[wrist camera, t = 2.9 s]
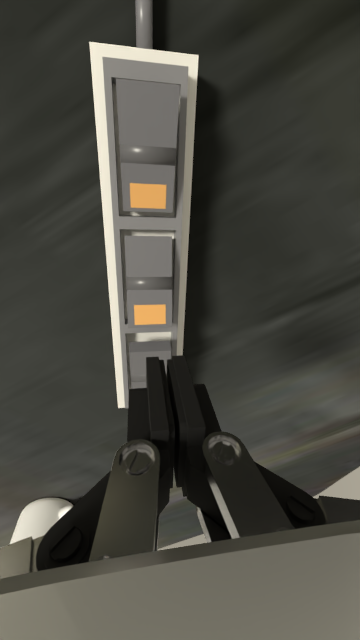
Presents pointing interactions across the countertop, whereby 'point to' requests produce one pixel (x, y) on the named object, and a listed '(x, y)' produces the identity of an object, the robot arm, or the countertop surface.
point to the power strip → (117, 222)
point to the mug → (39, 517)
